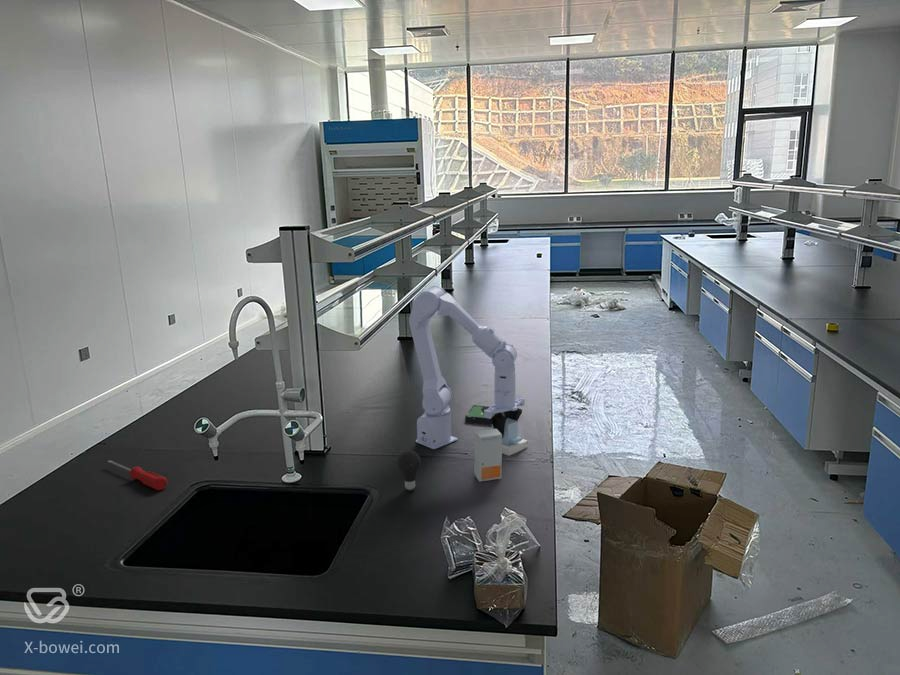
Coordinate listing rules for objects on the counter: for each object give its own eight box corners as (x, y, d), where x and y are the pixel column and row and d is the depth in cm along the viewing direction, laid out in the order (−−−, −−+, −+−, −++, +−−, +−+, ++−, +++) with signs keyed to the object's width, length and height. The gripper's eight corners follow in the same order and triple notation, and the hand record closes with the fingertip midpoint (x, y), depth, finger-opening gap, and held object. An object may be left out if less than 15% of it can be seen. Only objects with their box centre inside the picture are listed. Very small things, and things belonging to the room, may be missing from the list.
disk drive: (518, 417, 201) (473, 412, 205) (518, 408, 200) (473, 404, 205) (511, 429, 192) (464, 424, 196) (512, 420, 191) (464, 415, 195)
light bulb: (393, 489, 154) (392, 451, 151) (411, 482, 158) (409, 444, 155) (409, 497, 150) (407, 458, 148) (426, 489, 154) (425, 451, 151)
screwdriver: (116, 464, 171) (114, 452, 171) (169, 487, 158) (167, 474, 157) (103, 469, 169) (101, 457, 168) (156, 493, 155) (154, 480, 154)
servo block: (513, 451, 172) (513, 424, 171) (486, 441, 180) (486, 415, 178) (523, 446, 175) (523, 420, 173) (496, 437, 182) (496, 412, 180)
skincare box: (479, 482, 157) (479, 437, 154) (474, 475, 161) (473, 430, 158) (502, 479, 158) (502, 434, 155) (496, 471, 162) (496, 427, 159)
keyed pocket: (508, 455, 171) (508, 448, 171) (482, 445, 178) (482, 439, 178) (527, 447, 177) (527, 440, 176) (501, 437, 184) (501, 431, 183)
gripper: (497, 399, 166) (498, 447, 169) (533, 386, 175) (532, 432, 179) (478, 393, 171) (478, 440, 174) (513, 380, 180) (513, 425, 184)
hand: (504, 435), depth 177 cm, fingers closed on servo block, 4 cm apart
